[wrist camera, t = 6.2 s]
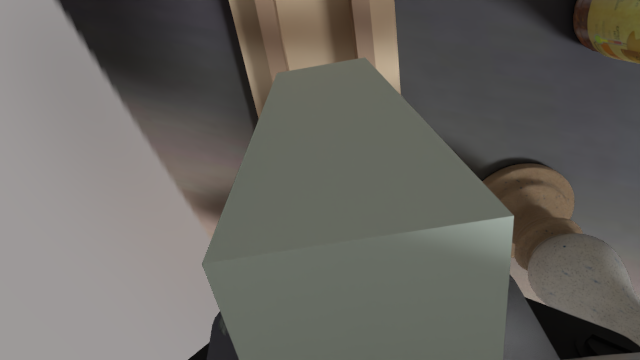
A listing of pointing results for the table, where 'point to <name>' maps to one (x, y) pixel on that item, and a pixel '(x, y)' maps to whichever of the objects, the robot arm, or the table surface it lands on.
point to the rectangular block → (357, 231)
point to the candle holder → (564, 251)
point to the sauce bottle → (609, 27)
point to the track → (313, 37)
